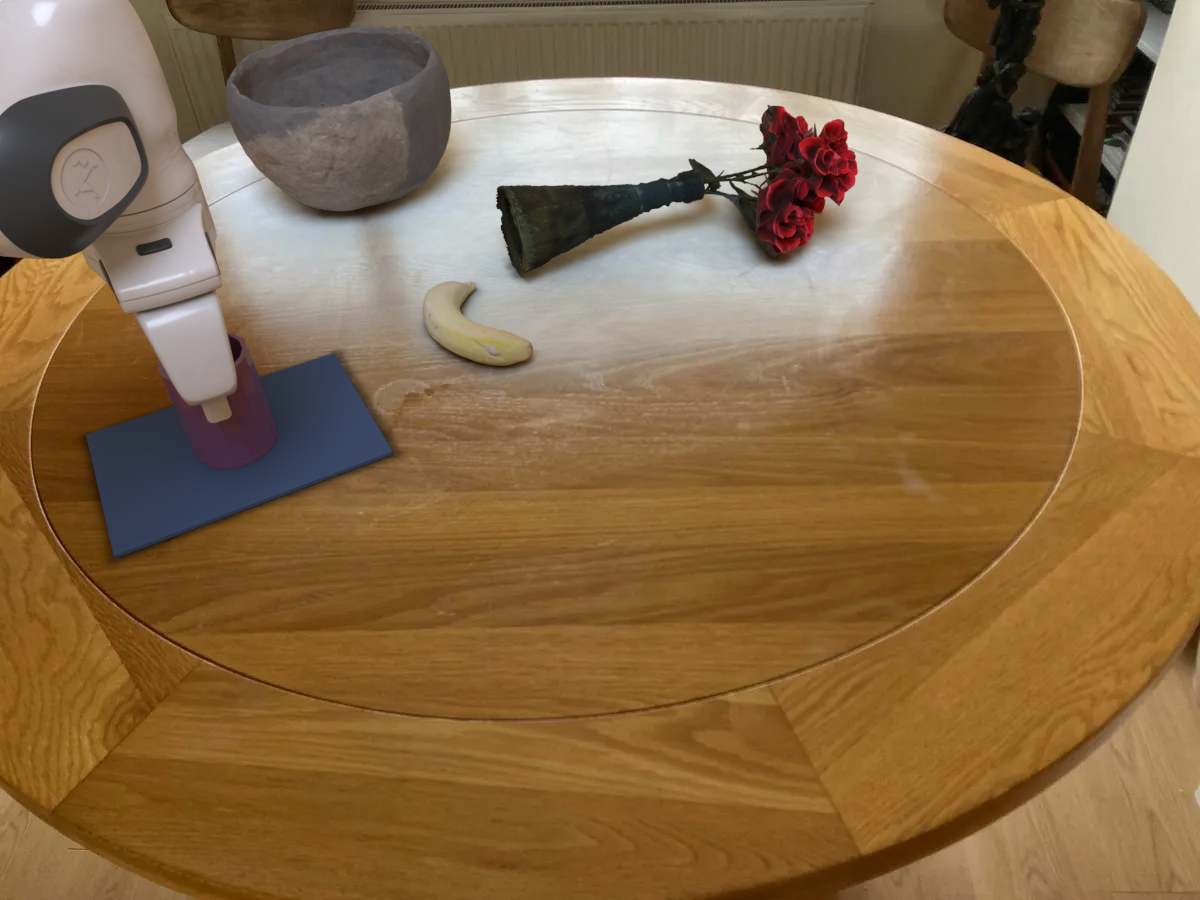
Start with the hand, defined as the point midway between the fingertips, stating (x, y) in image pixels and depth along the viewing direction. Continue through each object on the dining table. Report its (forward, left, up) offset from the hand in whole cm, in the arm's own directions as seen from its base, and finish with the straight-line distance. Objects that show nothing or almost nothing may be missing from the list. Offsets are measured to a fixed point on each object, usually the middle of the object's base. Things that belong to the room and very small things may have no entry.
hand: (206, 383), depth 76 cm
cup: (+1, 0, -7) cm, 7 cm away
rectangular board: (0, 0, -7) cm, 7 cm away
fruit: (+24, +4, -7) cm, 26 cm away
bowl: (+24, +39, -7) cm, 47 cm away
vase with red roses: (+48, +7, -7) cm, 50 cm away
